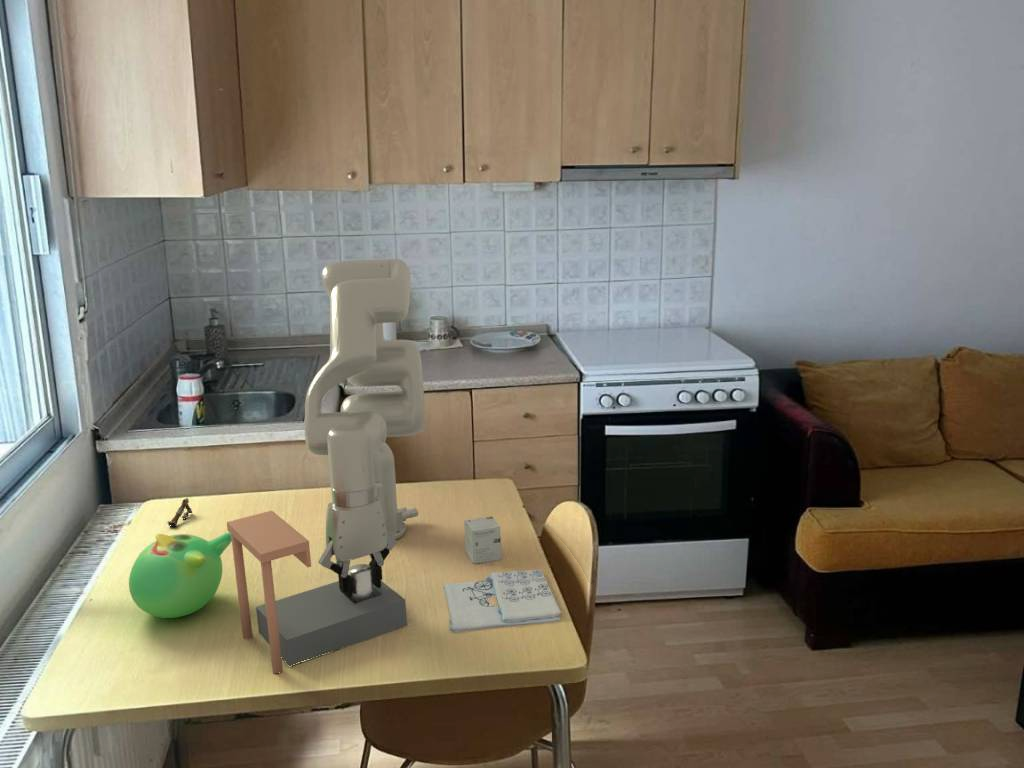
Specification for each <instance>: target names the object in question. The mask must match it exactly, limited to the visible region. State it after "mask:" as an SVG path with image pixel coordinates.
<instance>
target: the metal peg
mask: <svg viewBox="0 0 1024 768" xmlns="http://www.w3.org/2000/svg"><path fill="white" fill-rule="evenodd" d="M348 575H350V576H351V582H352V594H353V595H352V597H351V601H352V602H353V603H354V604H355V603H358V602H361V601H364V600H367V599H370V598H373V597H374V596H373V583H372V570H371V566H370V565H369V564H367V563H358V564H354V565H351V566H349V571H348Z"/></svg>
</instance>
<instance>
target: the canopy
mask: <svg viewBox="0 0 1024 768" xmlns="http://www.w3.org/2000/svg"><path fill="white" fill-rule="evenodd" d="M226 527H227V528H226V529H227V531H228V532H230V533H231V539H232V541H231V546H232V547H231V548H232V554H233V562H234V570H235V581H236V587H237V596H238V606H239V614H240V622H241V632H242V638H243V639H245V638H248V639H251V638H252V637H253V630H252V629H253V627H252V620H251V611H250V602H249V594H248V585H247V584H248V583H247V575H246V570H245V569H246V568H245V560H244V559H245V557H244V552H243V547H244V548H246V550H248V552H250V554H252V555H253V556H254V557H255V558H256V559H257V560H258V561H259V563H260V568H261V578H262V587H263V594H264V595H263V596H264V604H265V606H266V615H267V624H268V633H269V642H270V645H269V651H270V658H271V666H272V667H271V668H272V674H274V673H279V672H282V671H284V667H283V661H282V660H283V659H282V658H281V649H280V640H279V630H278V621H277V612H276V602H275V601H276V595H275V585H274V575H273V568H272V567H273V566H272V561H275V560H278V559H281V558H284V557H288V556H289V557H290V556H294V557H295V558H297V559H298V561H300V563H302V564H304V565H305V566H306V568H311V567H312V561H311V551H310V550H311V547H310V540H308V538H306V537H305V536H304V535H302V534H301V533H300V532H299V531H298V530H296V529H295V528H294V527H293V526H291V525H290V524H289V523H288V522H287V521H285V520H284V519H283V518H282V517H280V516H279V515H278V514H277V513H276V512H275V511H273V510H268V511H265V512H261V513H257V514H253V515H249V516H245V517H242V518H238V519H234V520H230V521H226ZM250 637H251V638H250ZM282 673H283V672H282Z"/></svg>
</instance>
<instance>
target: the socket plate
mask: <svg viewBox="0 0 1024 768" xmlns="http://www.w3.org/2000/svg"><path fill="white" fill-rule="evenodd" d="M373 596H374V597H373V598H370V599H367V600H364V601H361V602H358V603H355V604H354V603H353V602H352V601H351V597H347V596H346V595H345V594H344V593H342V592H341V591H340V588H339V580H338V581H334V582H331V583H327V584H324V585H322V586H318V587H315V588H313V589H309V590H306V591H303V592H299V593H296V594H292V595H290V596H287V597H283V598H279V599H277V600H275V602H276V612H277V621H278V630H279V640H280V649H281V657H282V660H284V661H286V663H287V664H288V665H289V666H291V665H293V664H296V663H298V662H301V661H304V660H307V659H311V658H313V657H316V656H319V655H322V654H325V653H328V652H331V651H334V650H336V651H338V650H337V649H339V650H341V649H340V648H342V649H344V648H343V647H345V648H347V647H346V646H348V647H349V645H350V646H353V645H355V643H356V644H359V643H362V642H364V641H367V640H369V639H373V638H375V637H378V636H381V635H383V634H387V633H389V632H391V631H395V630H398V629H401V628H403V627H407V626H408V621H407V620H408V618H407V605H406V603H407V601H406V599H405V598H404V597H403V596H401V595H400V594H399V593H397V591H395V590H393V588H392V587H390V586H389V585H387V583H385V582H384V581H382V580H381V587H380V588H378V587H376V586H374V585H373ZM255 611H256V618H257V628H258V629H257V630H258V634H260V636H261V635H262V636H263V637H264V638H263V637H262V636H261V637H262V638H263V639H264V640H265V642H266V643H267V644H268V643H269V644H270V642H269V633H268V624H267V615H266V606H265V603H264V604H261V605H258V606H255ZM269 644H268V645H269ZM352 644H353V645H352ZM334 652H335V651H334ZM331 653H332V652H331ZM328 654H329V653H328ZM325 655H326V654H325ZM322 656H323V655H322ZM311 660H312V659H311ZM284 661H283V662H284ZM286 663H285V664H286ZM287 664H286V665H287ZM288 665H287V666H288ZM289 666H288V667H289Z"/></svg>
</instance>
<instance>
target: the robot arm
mask: <svg viewBox="0 0 1024 768" xmlns="http://www.w3.org/2000/svg"><path fill="white" fill-rule="evenodd" d="M411 279H412V278H411V273H410V268H409V266H408V264H407V263H406V262H405V261H404V260H402V259H399V258H378V259H376V258H375V259H349V260H338V261H334V262H330V263H328V264H326V265H325V266H324V267H323V268H322V271H321V281H322V285H323V287H324V288H323V289H324V292H325V293H326V295H327V297H328V298H329V358H328V360H327V362H326V363H325V364H323V366H322V367H321V368H320V369H319V370H318V371H317V373H316V374H315V376H314V377H313V378H312V381H311V382H310V385H309V386H308V389H307V392H306V395H305V399H304V400H305V402H304V439H305V445H306V447H307V449H308V450H309V451H310V452H311V453H312V454H315V455H318V456H327V457H328V465H329V475H330V476H329V479H330V488H331V501H332V502H328V505H327V510H326V517H325V518H326V519H325V549H324V550H323V552H322V554H321V556H320V557H319V559H318V564H319V565H321V566H322V567H323V568H326V569H328V570H330V571H332V572H334V573H335V574H337V577H338V581H339V588H340V591H341V592H342V593H344V594H345V595H346V596H347V597H352V595H353V594H352V582H351V576H350V575H349V568H350V567H351V566H350V565H351V561H353V560H356V559H360V558H363V557H367V556H369V557H370V561H369V563H368V565H370V566H371V570H372V583H373V585H374V586H376V587H378V588H380V587H381V581H382V580H383V569H382V567H383V566H384V565H385V560H386V558H387V557H388V556H389V554H390V551H392V549H394V547H395V546H396V545H397V540H398V539H400V538H401V537H403V536H404V535H405V534H406V532H407V527H406V526H407V525H406V523H405V521H407V519H412V518H416V517H418V516H419V510H418V509H417V507H413V508H409V509H408V507H406V506H403V507H401V508H398V497H397V485H396V483H397V482H396V470H395V469H396V468H395V467H396V466H395V456H394V453H393V451H392V449H391V448H390V445H388V444H387V442H386V440H387V438H390V437H391V438H392V437H393V438H394V437H406V436H407V437H408V436H415V435H419V434H420V433H421V432H422V431H423V430H424V428H425V425H426V424H425V423H426V408H425V405H426V404H425V395H424V394H425V393H424V378H423V377H424V376H423V363H422V357H421V352H420V349H419V347H418V345H417V344H416V343H415V342H414V341H412V340H410V339H390V340H389V339H388V340H387V339H385V337H384V324H385V323H386V324H387V323H400V322H403V321H405V319H406V318H407V316H408V313H409V308H410V301H411V299H410V297H411V285H412V280H411ZM346 380H347V381H348V383H349V384H350V385H352V386H354V387H361V388H363V387H365V388H366V387H368V388H369V387H389V386H392V387H393V386H396V387H397V386H398V387H399V388H400V389H401V390H397V391H395V390H394V391H369V392H358V393H354V394H351V395H349V396H347V397H346V398H345V399H343V402H342V404H341V405H340V411H338V412H322V409H323V408H322V406H323V401H324V399H325V397H326V396H327V394H328V393H329V392H330V391H331V390H332V389H333V388H335V387H336V386H337V385H339V384H340V383H342V382H343V381H346ZM333 556H335V560H336V562H333V561H331V559H332V558H333Z"/></svg>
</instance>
